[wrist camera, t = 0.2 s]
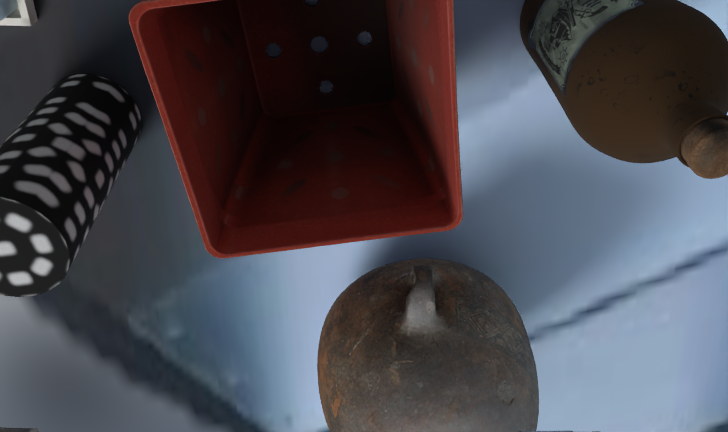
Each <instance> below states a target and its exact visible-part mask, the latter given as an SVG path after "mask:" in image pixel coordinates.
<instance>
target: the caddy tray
mask: <svg viewBox="0 0 728 432" xmlns="http://www.w3.org/2000/svg"><path fill="white" fill-rule="evenodd" d="M37 21H38V19H37V15H36V11H35V7H34V3H33V0H0V25H12V26H32V25H33V24H34V23H35V22H37Z"/></svg>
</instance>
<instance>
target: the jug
mask: <svg viewBox="0 0 728 432" xmlns="http://www.w3.org/2000/svg"><path fill="white" fill-rule="evenodd" d="M317 369H318V385H319V393H320V399H321V404H322V408H323V412H324V416H325V419H326V422H327V425H328V427H329V430H330V432H520V431H536V429H537V422H538V414H539V390H538V379H537V371H536V365H535V360H534V356H533V353H532V349H531V346H530V342H529V339H528V336H527V332H526V329H525V327H524V324H523V321H522V319H521V317H520V315H519V313H518V311H517V309H516V307H515V306H514V304H513V302H512V301H511V300H510V298H509V297H508V296H507V294H506V293H505V292H504V291H503V290H502V289H501V288H500V287H499V286H498V285H497V284H496V283H495V282H494V281H493V280H491V279H490V278H489V277H487V276H486V275H484V274H483V273H481V272H479V271H477V270H475V269H473V268H471V267H468V266H466V265H463V264H460V263H457V262H453V261H449V260H443V259H431V258H423V259H410V260H405V261H399V262H395V263H391V264H387V265H384V266H381V267H379V268H376V269H374V270H372V271H370V272H368V273H366V274H365V275H363V276H361V277H360V278H358V279H357V280H356V281H355V282H353V283H352V284H351V285H350V286H348V287H347V288H346V289H345V290H344V291H343V292H342V293H341V294H340V295H339V297H338V298H337V299H336V301H335V302H334V304H333V305H332V307H331V309H330V311H329V313H328V315H327V317H326V319H325V322H324V325H323V328H322V332H321V336H320V342H319V348H318V364H317Z"/></svg>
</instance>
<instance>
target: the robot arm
mask: <svg viewBox="0 0 728 432" xmlns="http://www.w3.org/2000/svg"><path fill="white" fill-rule="evenodd" d="M0 432H39V431H38V429H36V428H35V429H34V428H0ZM520 432H573V431H520ZM594 432H599V431H594Z"/></svg>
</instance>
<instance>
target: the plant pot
mask: <svg viewBox="0 0 728 432" xmlns="http://www.w3.org/2000/svg"><path fill="white" fill-rule="evenodd" d="M129 24H130V27H131V30H132V33H133V36H134V39H135V42H136V45H137V48H138V52H139V55H140V58H141V61H142V64H143V67H144V70H145V73H146V75H147V78H148V81H149V84H150V87H151V90H152V92H153V95H154V98H155V101H156V104H157V107H158V110H159V113H160V116H161V118H162V121H163V124H164V127H165V130H166V133H167V136H168V139H169V142H170V145H171V148H172V151H173V153H174V156H175V159H176V162H177V165H178V168H179V171H180V174H181V177H182V180H183V183H184V186H185V189H186V192H187V195H188V198H189V201H190V204H191V207H192V210H193V213H194V216H195V219H196V222H197V225H198V228H199V231H200V234H201V236H202V239H203V242H204V245H205V248H206V250H207V251H208V252H209V253H210V254H211V255H212V256H214V257H217V258H231V257H240V256H247V255H253V254H262V253H270V252H278V251H287V250H294V249H302V248H310V247H317V246H325V245H334V244H341V243H348V242H357V241H364V240H372V239H381V238H390V237H398V236H407V235H415V234H425V233H432V232H442V231H448V230H452V229H454V228H456V227H457V226H458V225H459V224H460V223H461V221H462V218H463V202H462V187H461V169H460V151H459V132H458V112H457V88H456V60H455V31H454V0H319V3H318V4H317V5H316V6H315V7H309V6H307V5H306V4H305V3H304V1H303V0H142V1H140V2H139V3H137V4H136V5H134V7H133V8H132V9H131V11H130V13H129ZM362 31H367V32H369V33H370V34H371V36H372V41H371V43H370V44H369V45H367V46H365V47H364V46H361V45H359V44H358V43H357V35H359V34H360V32H362ZM317 36H322V37H324V38H325V39H326V40H327V42H328V48H327V50H326V51H325V52H324V53H321V54H317V53H315V52H313V51H312V50H311V48H310V43H311V40H312V39H313V38H314V37H317ZM270 43H276V44H278V45H280V47H281V49H282V53H281V55H280V56H279V57H278V58H271V57H269V56H268V55H267V53H266V47H267V46H268V45H269V44H270ZM325 80H327V81H330V82H331V83H333V86H334V88H333V91H332V92H331V93H330V94H322V93H321V92H320V91H319V86H320V84H321V82H322V81H325Z"/></svg>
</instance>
